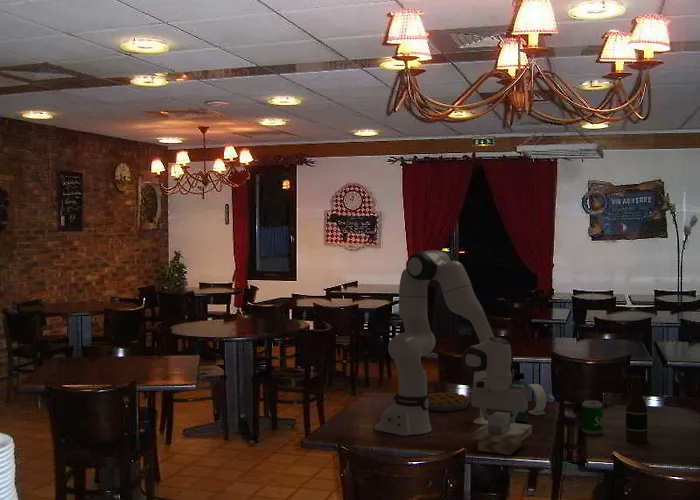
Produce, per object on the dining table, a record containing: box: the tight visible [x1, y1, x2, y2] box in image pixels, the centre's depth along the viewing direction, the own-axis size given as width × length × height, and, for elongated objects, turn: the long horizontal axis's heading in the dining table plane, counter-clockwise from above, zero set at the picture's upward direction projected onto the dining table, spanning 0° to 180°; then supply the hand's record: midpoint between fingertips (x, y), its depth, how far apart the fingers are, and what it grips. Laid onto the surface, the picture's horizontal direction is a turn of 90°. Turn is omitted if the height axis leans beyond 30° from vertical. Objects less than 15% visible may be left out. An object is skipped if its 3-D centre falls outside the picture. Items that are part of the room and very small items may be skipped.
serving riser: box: [469, 423, 528, 456], centre depth 282 cm, size 16×16×6 cm
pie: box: [427, 391, 471, 412], centre depth 347 cm, size 22×22×5 cm
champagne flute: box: [472, 371, 488, 425], centre depth 319 cm, size 7×7×24 cm
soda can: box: [581, 399, 604, 436], centre depth 301 cm, size 8×8×12 cm
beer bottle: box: [625, 374, 648, 444], centre depth 289 cm, size 8×8×24 cm
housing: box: [487, 411, 511, 436], centre depth 282 cm, size 9×5×6 cm, turn 150°
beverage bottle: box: [511, 372, 529, 422], centre depth 317 cm, size 6×7×20 cm
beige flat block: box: [510, 422, 533, 442], centre depth 300 cm, size 14×12×3 cm
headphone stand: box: [527, 383, 547, 416], centre depth 331 cm, size 5×6×12 cm
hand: (499, 421), depth 282 cm, fingers open, 8 cm apart
